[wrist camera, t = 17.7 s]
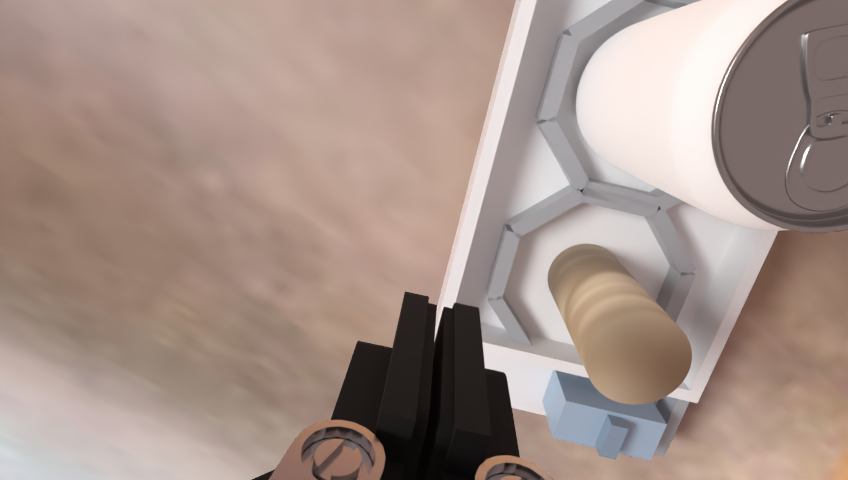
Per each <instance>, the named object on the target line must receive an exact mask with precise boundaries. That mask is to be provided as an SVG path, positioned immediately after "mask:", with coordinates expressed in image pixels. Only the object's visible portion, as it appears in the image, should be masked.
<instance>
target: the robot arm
mask: <svg viewBox="0 0 848 480" xmlns="http://www.w3.org/2000/svg"><path fill="white" fill-rule="evenodd" d="M428 300H429V297H428V296H423V295H419V294H414V293H409V292H405V294H404V299H403V303H402V308H401V312H400V317H399V321H398V326H397V330H396V335H395V339H394V344H393V348H389V347H384V346H380V345H375V344H371V343H366V342H361V341H358V342H357V344H356V347H355V350H354V353H353V356H352V359H351V362H350V365H349V368H348V371H347V374H346V377H345V380H344V383H343V385H342V388H341V391H340V394H339V397H338V400H337V403H336V406H335V409H334V412H333V415H332V418H331V420H326V421H322V422H318V423H314V424H313V425H311V426H309V427H307V428H306V429H304V430H303V431H302V432H301V433H300V434H299V435H298V436H297V437H296V438H295V440H294V441H293V443H292V444H291V446H290V447H289V449H288V450H287V452H286V454H285V455H284V457H283V458H282V460H281V461H280V463H279V464H278V466H277V467H276V469H275V470H273V471H271V472H268V473H266V474H264V475H261V476H259V477H257V478H255V479H252V480H554V479H553V478H552V477H551V476H550V475H549V474H548V473H547V472H546V471H544V470H543V469H541V468H540V467H539V466H537V465H536V464H534V463H532V462H529V461H527V460H525V459H523V458H520V456H519V450H518V444H517V438H516V431H515V425H514V419H513V413H512V407H511V401H510V395H509V388H508V382H507V377H506V374H505V373H504V372H500V371H496V370H491V369H486V368H485V363H484V353H483V343H482V332H481V322H480V312H479V308H478V307H474V306H469V305H464V304H460V303H454V305H453V307H452V308H448V307H444V308H443V311H442V315H441V319H440V322H439V326H438V330H437V334H436V338H435V326H436V311H437V305H435V304H430V303H428ZM434 340H435V342H434Z"/></svg>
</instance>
